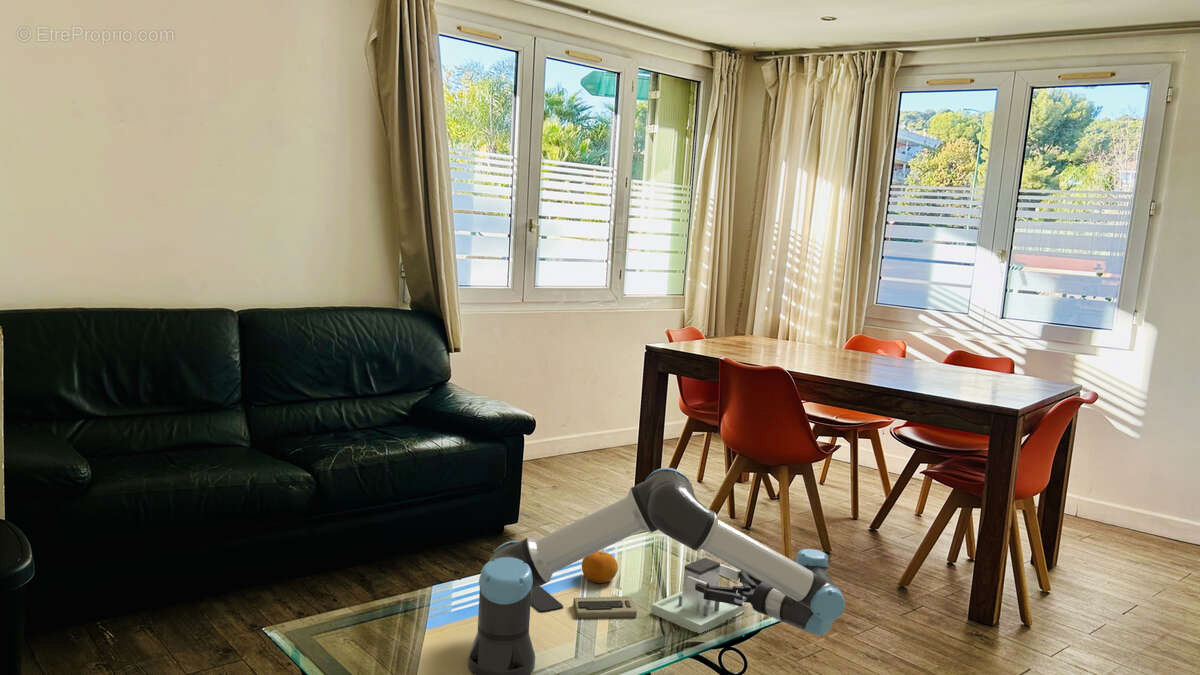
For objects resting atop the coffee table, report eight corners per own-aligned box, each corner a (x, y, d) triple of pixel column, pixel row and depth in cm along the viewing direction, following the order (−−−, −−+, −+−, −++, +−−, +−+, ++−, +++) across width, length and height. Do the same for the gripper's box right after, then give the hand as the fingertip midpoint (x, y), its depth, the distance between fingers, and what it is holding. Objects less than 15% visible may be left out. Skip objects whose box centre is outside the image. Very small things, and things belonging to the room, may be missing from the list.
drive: (696, 615, 230) (700, 571, 228) (681, 609, 233) (684, 565, 232) (716, 606, 236) (720, 563, 235) (701, 599, 240) (704, 557, 238)
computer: (577, 620, 227) (578, 608, 227) (572, 607, 235) (573, 595, 234) (636, 619, 230) (637, 607, 229) (630, 606, 238) (631, 594, 237)
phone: (539, 585, 245) (565, 606, 233) (539, 588, 246) (564, 609, 233) (515, 589, 242) (539, 611, 229) (515, 592, 242) (539, 614, 229)
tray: (700, 634, 222) (701, 619, 222) (651, 613, 233) (652, 598, 233) (744, 612, 237) (745, 598, 237) (696, 593, 248) (697, 579, 247)
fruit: (619, 574, 258) (620, 548, 257) (614, 589, 247) (616, 561, 246) (583, 570, 259) (585, 544, 258) (577, 584, 249) (579, 557, 248)
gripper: (743, 630, 211) (673, 601, 225) (796, 601, 229) (728, 576, 244) (745, 600, 210) (675, 572, 224) (799, 574, 228) (730, 550, 243)
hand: (703, 574), depth 234 cm, fingers open, 13 cm apart
